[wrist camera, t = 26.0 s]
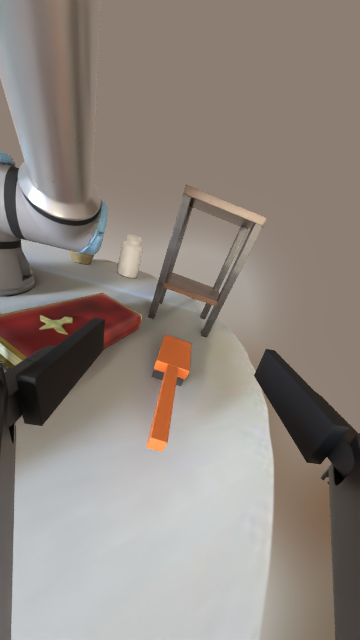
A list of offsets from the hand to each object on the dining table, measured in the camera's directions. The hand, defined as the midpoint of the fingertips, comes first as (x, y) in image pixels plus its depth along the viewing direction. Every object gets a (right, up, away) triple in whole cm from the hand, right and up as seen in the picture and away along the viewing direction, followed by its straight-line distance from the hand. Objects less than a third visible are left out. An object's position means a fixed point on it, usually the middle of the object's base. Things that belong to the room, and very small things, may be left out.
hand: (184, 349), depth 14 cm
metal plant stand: (0, +3, +38) cm, 38 cm away
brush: (-3, -9, +14) cm, 17 cm away
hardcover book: (-19, -1, +18) cm, 26 cm away
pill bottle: (-22, +21, +56) cm, 64 cm away
